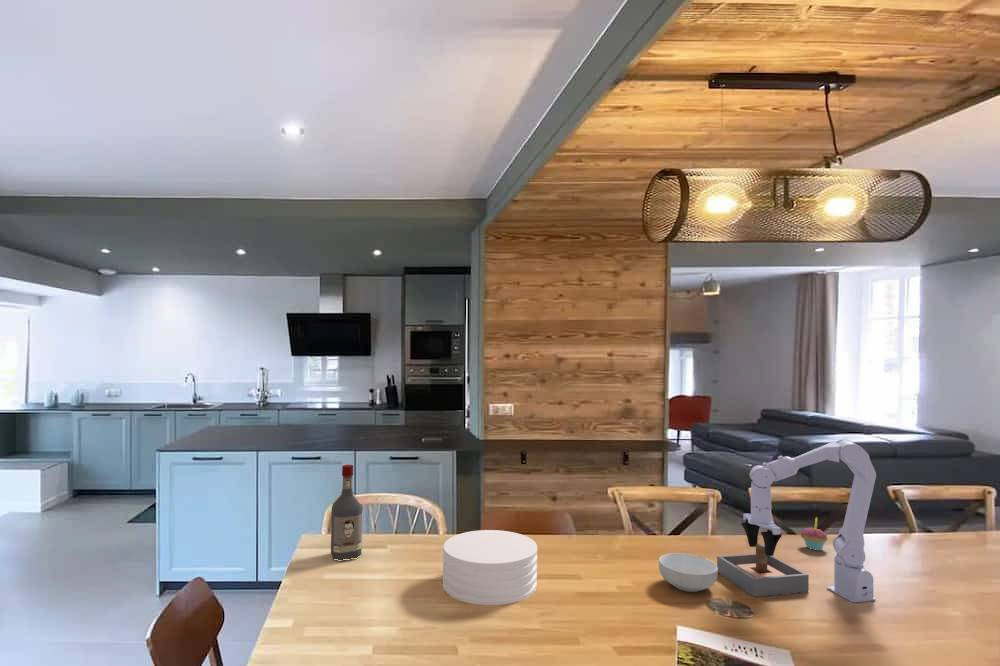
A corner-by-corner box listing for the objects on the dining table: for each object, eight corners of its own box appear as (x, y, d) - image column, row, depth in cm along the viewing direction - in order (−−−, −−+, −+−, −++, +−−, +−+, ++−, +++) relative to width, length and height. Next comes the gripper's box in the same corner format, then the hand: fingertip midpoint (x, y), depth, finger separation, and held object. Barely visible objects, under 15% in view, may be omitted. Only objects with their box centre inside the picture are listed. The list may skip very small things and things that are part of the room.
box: (808, 592, 163) (808, 574, 163) (754, 597, 159) (754, 579, 159) (766, 568, 180) (766, 552, 181) (717, 571, 177) (717, 556, 177)
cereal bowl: (722, 602, 156) (722, 576, 156) (661, 595, 159) (661, 570, 159) (712, 577, 173) (712, 554, 173) (656, 572, 176) (656, 550, 176)
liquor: (329, 553, 188) (331, 464, 189) (357, 549, 192) (359, 462, 193) (333, 562, 180) (335, 469, 181) (362, 558, 184) (364, 467, 185)
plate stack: (423, 591, 160) (424, 551, 160) (473, 559, 185) (473, 524, 185) (510, 614, 147) (511, 571, 147) (551, 576, 172) (551, 539, 172)
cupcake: (832, 553, 195) (832, 518, 195) (808, 552, 195) (808, 518, 195) (819, 544, 203) (819, 511, 204) (795, 543, 204) (795, 510, 204)
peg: (769, 579, 169) (769, 546, 169) (761, 581, 168) (761, 547, 168) (761, 575, 172) (761, 542, 172) (753, 576, 171) (753, 544, 171)
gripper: (734, 500, 177) (734, 543, 176) (765, 513, 162) (765, 560, 162) (754, 499, 178) (754, 542, 178) (786, 512, 164) (786, 559, 164)
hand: (761, 550), depth 170 cm, fingers open, 7 cm apart
